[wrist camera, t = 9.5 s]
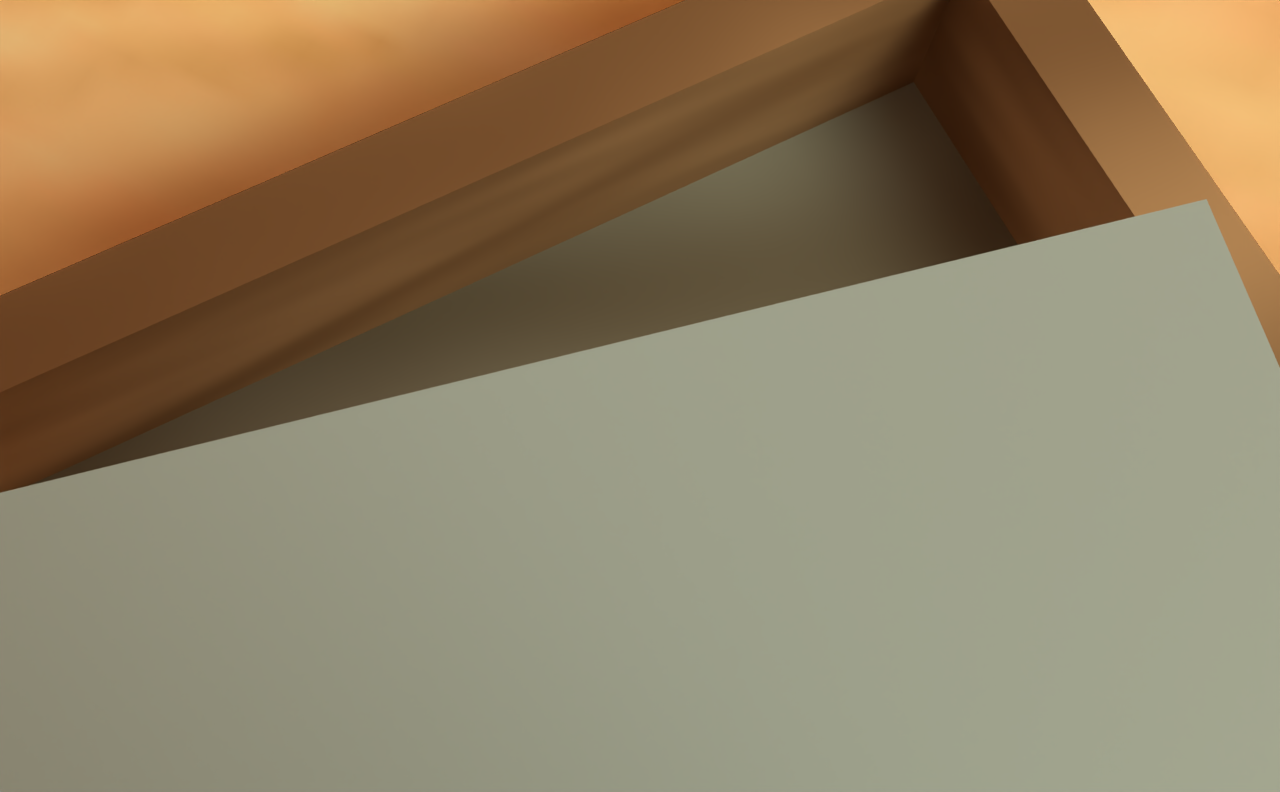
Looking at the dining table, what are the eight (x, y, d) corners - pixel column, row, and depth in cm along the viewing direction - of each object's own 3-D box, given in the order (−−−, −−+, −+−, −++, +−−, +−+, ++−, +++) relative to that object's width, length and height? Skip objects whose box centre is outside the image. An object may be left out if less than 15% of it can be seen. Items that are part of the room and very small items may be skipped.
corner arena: (1582, 1013, 16) (1850, 1090, 12) (407, 1765, 13) (333, 2119, 10) (930, 17, 20) (993, -133, 17) (-52, 457, 18) (-216, 388, 14)
